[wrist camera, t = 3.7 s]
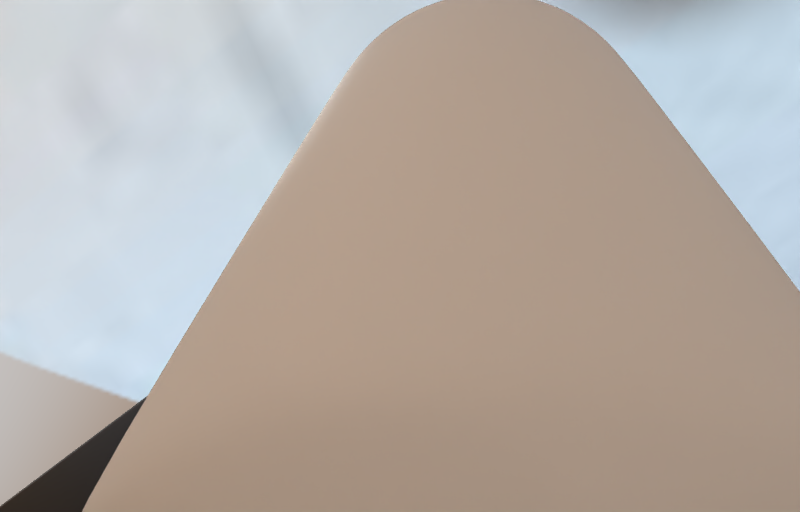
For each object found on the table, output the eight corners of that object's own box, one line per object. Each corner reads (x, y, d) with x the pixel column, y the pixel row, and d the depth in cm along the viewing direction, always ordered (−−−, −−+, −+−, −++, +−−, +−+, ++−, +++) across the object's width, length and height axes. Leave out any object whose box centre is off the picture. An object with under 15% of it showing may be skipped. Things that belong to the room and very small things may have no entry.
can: (288, 29, 12) (-524, 763, 2) (634, -51, 11) (2225, 814, 1) (371, 298, 16) (182, 1102, 6) (648, 259, 14) (1071, 1222, 4)
